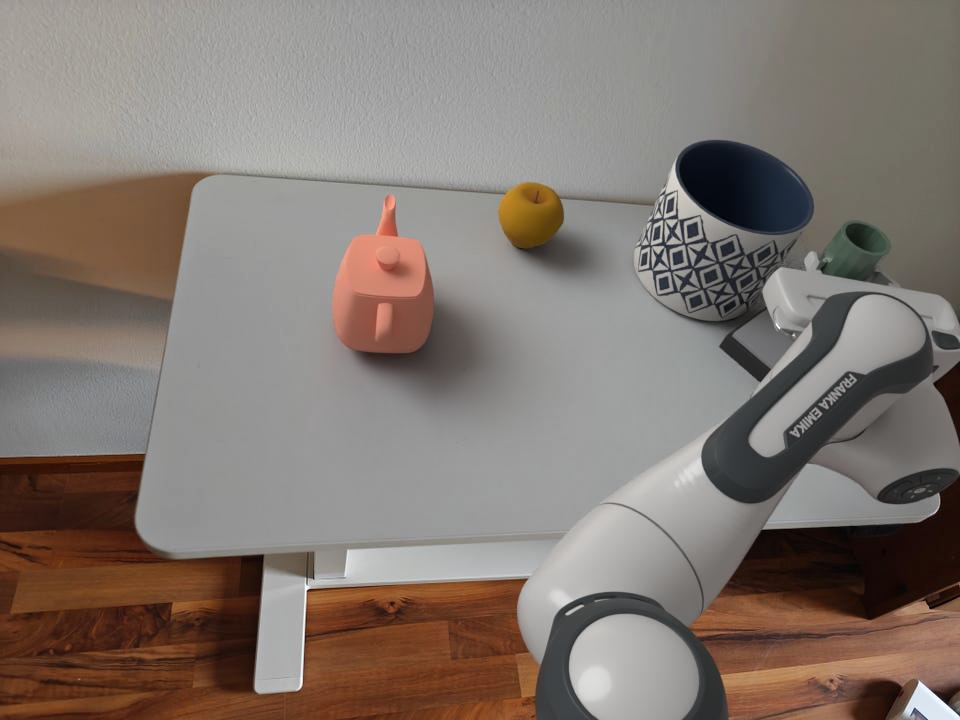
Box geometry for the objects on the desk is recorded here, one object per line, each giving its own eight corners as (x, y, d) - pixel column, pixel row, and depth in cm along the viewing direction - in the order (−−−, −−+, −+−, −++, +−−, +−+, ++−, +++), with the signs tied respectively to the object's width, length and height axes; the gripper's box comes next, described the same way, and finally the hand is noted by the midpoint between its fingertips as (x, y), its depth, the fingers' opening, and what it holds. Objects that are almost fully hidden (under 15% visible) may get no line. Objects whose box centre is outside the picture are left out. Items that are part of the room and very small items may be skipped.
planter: (622, 225, 108) (662, 131, 95) (736, 237, 111) (790, 147, 98) (643, 319, 97) (692, 227, 84) (769, 329, 100) (835, 241, 87)
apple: (549, 272, 99) (566, 222, 92) (485, 254, 99) (497, 203, 92) (558, 229, 105) (575, 180, 98) (499, 212, 105) (511, 162, 98)
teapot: (431, 388, 84) (444, 321, 75) (327, 383, 82) (326, 314, 73) (428, 264, 96) (439, 193, 87) (337, 257, 94) (338, 184, 85)
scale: (829, 365, 97) (843, 351, 95) (785, 404, 92) (798, 389, 89) (764, 312, 101) (776, 297, 99) (718, 346, 96) (729, 331, 93)
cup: (843, 321, 86) (894, 261, 78) (797, 308, 86) (843, 247, 78) (839, 289, 89) (887, 228, 82) (795, 276, 90) (839, 214, 82)
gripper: (764, 356, 77) (744, 265, 86) (944, 387, 79) (907, 294, 87) (793, 318, 72) (769, 225, 81) (985, 351, 74) (942, 256, 82)
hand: (842, 261), depth 84 cm, fingers closed on cup, 6 cm apart
